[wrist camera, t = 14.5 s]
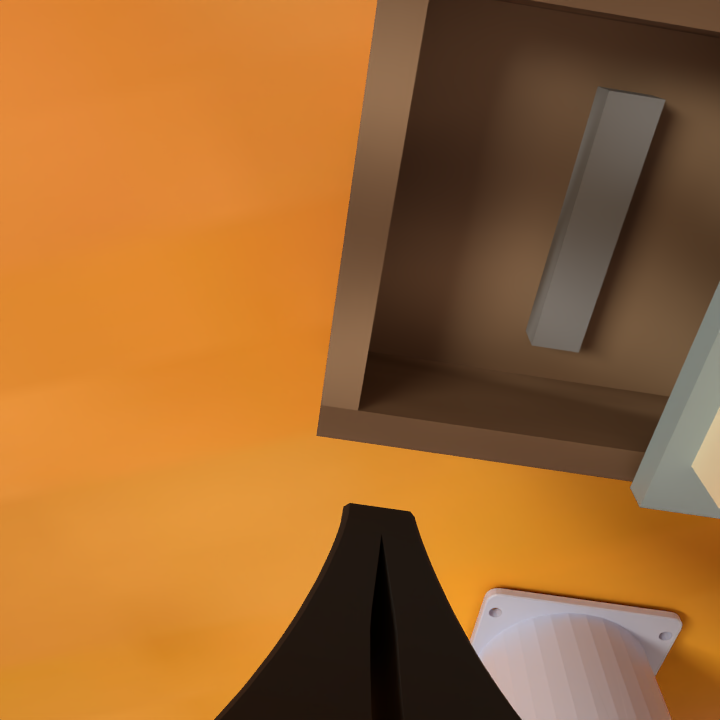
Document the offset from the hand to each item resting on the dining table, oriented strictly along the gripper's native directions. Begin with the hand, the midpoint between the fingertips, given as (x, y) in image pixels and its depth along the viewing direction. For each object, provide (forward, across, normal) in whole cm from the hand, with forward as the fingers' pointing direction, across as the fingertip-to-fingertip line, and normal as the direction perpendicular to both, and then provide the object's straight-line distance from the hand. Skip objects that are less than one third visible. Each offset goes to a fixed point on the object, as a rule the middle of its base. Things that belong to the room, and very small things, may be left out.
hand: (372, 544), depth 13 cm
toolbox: (+9, -6, -5) cm, 12 cm away
